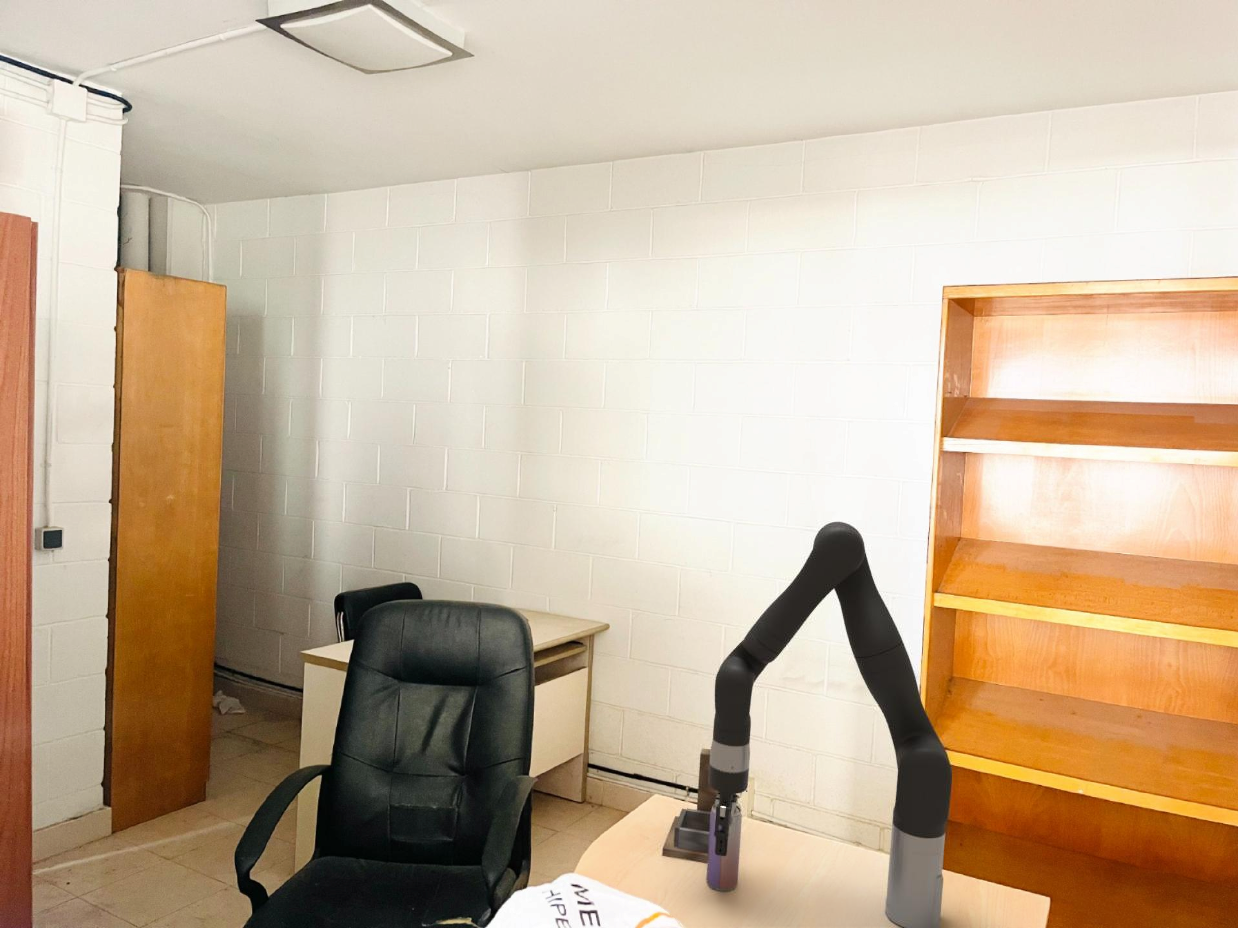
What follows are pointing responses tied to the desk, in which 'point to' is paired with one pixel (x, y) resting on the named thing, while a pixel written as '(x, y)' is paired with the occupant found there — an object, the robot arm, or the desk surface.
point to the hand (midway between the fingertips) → (723, 844)
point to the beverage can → (724, 867)
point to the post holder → (693, 821)
